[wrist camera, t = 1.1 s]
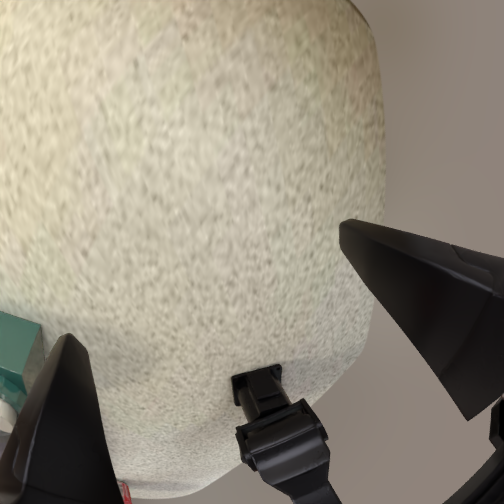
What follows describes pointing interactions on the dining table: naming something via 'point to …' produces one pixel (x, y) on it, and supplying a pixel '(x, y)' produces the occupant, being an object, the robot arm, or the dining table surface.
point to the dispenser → (19, 358)
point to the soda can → (124, 492)
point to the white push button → (7, 416)
